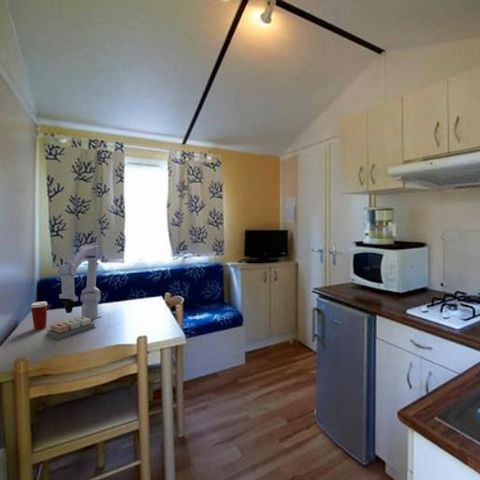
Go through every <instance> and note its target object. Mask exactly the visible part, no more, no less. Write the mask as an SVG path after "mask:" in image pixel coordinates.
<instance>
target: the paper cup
mask: <svg viewBox="0 0 480 480" xmlns="http://www.w3.org/2000/svg"><path fill="white" fill-rule="evenodd" d="M30 308H31V316H32V317H31V318H32V325H33V330H34V331H40V330H45V329H46V328H47V316H48V302H47V301H36V302H33V303H31V305H30Z"/></svg>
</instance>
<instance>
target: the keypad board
mask: <svg viewBox="0 0 480 480" xmlns="http://www.w3.org/2000/svg"><path fill="white" fill-rule="evenodd" d="M96 328H97V326H95V323H93V322H91V324H88V325H84V326H82V325H80V327H78V328H75V329H69V328H68V329H69V330H68V331H65V332H62V333H57V332H55V331H52V330H50V329H47V330H46V333H45V334H44V335H45V336H48V337H49V338H52V339H54V340H56V341H60V340H63V339H66V338H69V337H72V336H75V335H78V334H81V333H84V332H87V331H90V330H94V329H96Z"/></svg>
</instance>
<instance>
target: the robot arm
mask: <svg viewBox="0 0 480 480" xmlns="http://www.w3.org/2000/svg"><path fill="white" fill-rule="evenodd" d="M100 257H101V248H100V247H99V245H80V247H79V249H78V253H77V254H76V255H74V256H71V257H70V258H69V260H68V261H67V262H66V263H65V264H62V265H60V266H59V268H58V270H57V271H58V275H59V278H60V279H61V280H60V281H61V293H59V296H58V297H59V299H60V302H61V303H62V304H63V307H64V310H65V313H66V314H71V313H72V312H73V308H74V305H75V303H76V302H77V301H79V296H77V295H76V294H75V291H76V290H75V275H76V274H77V270H78V268H79V267H80V265H81V264H82V260H83V259H84V260H86V261H87V271H86V272H87V273H86V275H87V276H86V286H85V288H84V289H82V290H81V294H80V302H81V303H82V305H81V306H80V307H81V308H80V309H81V316H83V317H86V318H90V319H91V321H92V320H95V319H97V318H98V319H99V318H101V317H102V316H101V315H99V309H98V308H99V305H98V303H99V302H100V301H101V297H102V296H101V290H100V289H99V288H98V287H97V286H96V285H97V284H96V283H97V272H98V271H97V269H98V260H100ZM61 299H62V300H61Z"/></svg>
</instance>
